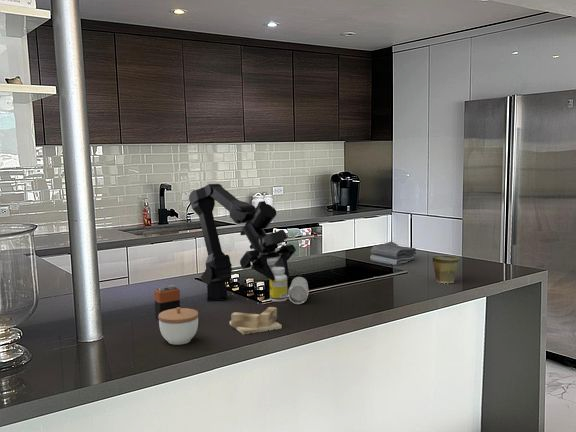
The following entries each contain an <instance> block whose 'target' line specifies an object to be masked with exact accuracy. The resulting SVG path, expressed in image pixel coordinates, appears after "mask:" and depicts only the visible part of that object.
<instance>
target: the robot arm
mask: <svg viewBox="0 0 576 432" xmlns="http://www.w3.org/2000/svg"><path fill="white" fill-rule="evenodd" d="M190 192H191V193H190V194H189V196H188V201H189V203H190V206H191V208H192V210H193V212H195V214H196V215H197V216H198V218H199V222H200V226H201V232H202V236H203V239H204V242H205V243H204V244H205V248H206V251H207V258H206V261H205V269H204V271H203V273H202V274H201V280H202V283H204V284H206V290H207V291H206V292H207V294H206V301H207V302H216V301H226V299H227V298H228V284H227V283H226V282H227V281H230V280H231V276H232V275H231V274H232V272H233V271H232V270H233V269H232V267H233V265H232V262H231V258H230V256H229V254H225V252H223V250H222V245H221V242H220V238H219V234H218V230H217V225H216V222H215V217H214V214H213V213H214V212H213V211H214V209H215V205H216V202H218V203H219V205H221V206H222V207H223V208H224V209H225V210H227V211H228V212H229V217H230V218H231V220H232V221H233V222H234V223H235V224H237V225H238V224H239V225H240V224H244V226H241V230H240V236H246V239H248V241H249V243H250V245H249V249H250V250H246V251H245V253H244V254H243V255H242V257H241V259H239V260H240V261H239V264H240V266H241V268H242V270H245V269H246V270H247V269H251V270H254V271H256V272H258V273H259V274H262V275H263V276H264V277H266V278H267V279H270V280H272V281H274V280H275V277H274V275H273V273H272V268H271V267H270V265H269V264H268V263H269V262H268V260H271V259H274V260H275V263H274V265H275V267H284V268H285V273H284V274H285V275H286V276H287V279H288V278H289V277H290V272H289V267H288V261H289V259H291V257H292V256H293V255H294V254H295V252H296V251H297V249H296V247H295V246H294V244H291V243H290V244H283V245H281V247H280V248H279V249H278V247H279V245H280V244H281V243H285V240H287V238H288V234H287V233H286V231H285V230H284V229H279V230H277V231H275V232H272V233H271V232H270V233H266V231H265V230H264V229H267V228H268V227H269V226H270V224H271V223H272V222H273V220H274V219H275V218H276V216H277V210H276V208H275V207H273V205H271V204H268V203H267V202H266V201H265V200H263V201H260V200H259V201H258V203H257V205H256V206H255V205H253V204H251V203H249V202H246V201H242V200H240V199H238V198H237V197H236V196H234V195H233V194H232V193H231V192H229V191H228V190H227V189H225V188H224V187H223V185H222V184H221V183H208V184H206V185H205V186H202V187H201V188H197V189H195V190H194V189H193V190H192V191H190ZM276 249H278V250H276ZM270 280H269V281H270Z"/></svg>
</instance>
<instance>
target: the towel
mask: <svg viewBox="0 0 576 432" xmlns="http://www.w3.org/2000/svg"><path fill="white" fill-rule="evenodd" d="M416 251H417V248H415V247H411V246H410V247H409V246H402V245H398V244H397V243H395V242H394V241H387V242H385V243H381V244H376V245H373V246H372V247H371V249H370V251H369V252H370V253H369V254H371V255H370V257H369V259H370V261H371V262H375V263H380V264H387V265H391V264H392V266H400V265H403V264H406V263H408V261H409V262H412V261H414V260H413V259H416V255H417V252H416ZM411 260H412V261H411ZM402 263H403V264H402ZM399 264H400V265H399Z"/></svg>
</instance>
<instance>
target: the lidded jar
mask: <svg viewBox="0 0 576 432" xmlns="http://www.w3.org/2000/svg"><path fill="white" fill-rule="evenodd" d="M158 318H159V319H158V324H159V325H158V327H159V330H160V334H161V336H162V337H163V338H164V339H165V341H167V342H168V344H170V345H173V346H174V345H175V346H177V345H178V346H179V345H185V344H188V343H190V342H191V341H192V339H193V338H194V337H195V335H196V333H197V332H198V328H199V327H198V325H199V312H198V310H197V309H194V308H187V307H181V306H180V307H177V308H176V309H169V310H165V311H163V312H161V313H160V314H159V315H158Z"/></svg>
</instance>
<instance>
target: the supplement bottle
mask: <svg viewBox="0 0 576 432" xmlns="http://www.w3.org/2000/svg"><path fill="white" fill-rule="evenodd" d="M271 271H272V273H273V275H274V277H275V280H274V281H272V280H270V279H269V278H268V279H269V299H270V301H273V302H284V301H286V300H287V299H289V296H288V278H287V276H286V275H285V274H284V273H285V268H284V267H277V266H273V267H271Z"/></svg>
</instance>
